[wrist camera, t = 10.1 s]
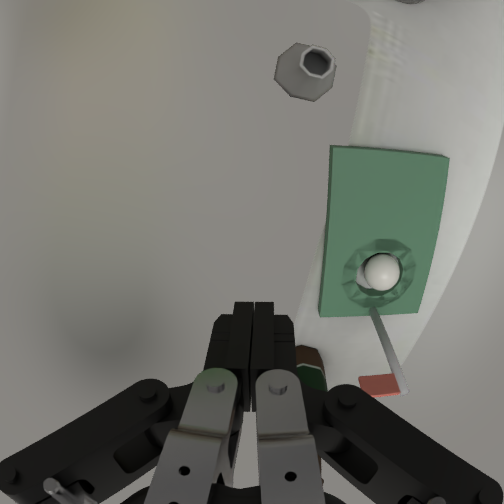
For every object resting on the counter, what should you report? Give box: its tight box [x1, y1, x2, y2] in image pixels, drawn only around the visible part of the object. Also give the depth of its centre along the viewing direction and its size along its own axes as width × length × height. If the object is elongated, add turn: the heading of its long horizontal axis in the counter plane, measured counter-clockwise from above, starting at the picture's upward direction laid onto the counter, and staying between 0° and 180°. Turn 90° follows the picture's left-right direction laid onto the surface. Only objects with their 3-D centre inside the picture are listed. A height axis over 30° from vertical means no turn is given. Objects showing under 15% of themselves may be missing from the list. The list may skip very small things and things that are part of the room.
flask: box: [274, 43, 336, 102], centre depth 28 cm, size 7×7×10 cm
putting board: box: [318, 145, 450, 397], centre depth 34 cm, size 24×16×18 cm, turn 1°
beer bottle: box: [295, 345, 328, 486], centre depth 42 cm, size 8×8×24 cm
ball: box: [364, 254, 400, 291], centre depth 41 cm, size 5×5×5 cm
